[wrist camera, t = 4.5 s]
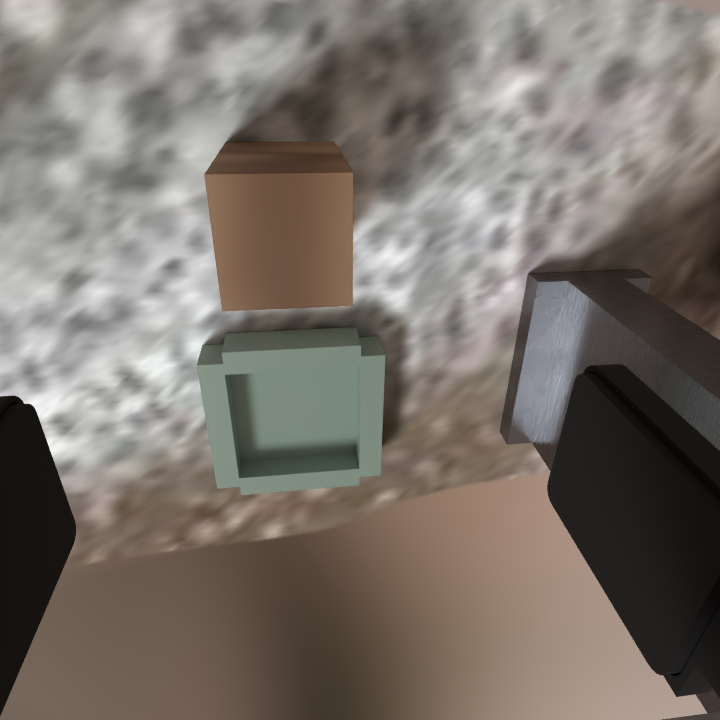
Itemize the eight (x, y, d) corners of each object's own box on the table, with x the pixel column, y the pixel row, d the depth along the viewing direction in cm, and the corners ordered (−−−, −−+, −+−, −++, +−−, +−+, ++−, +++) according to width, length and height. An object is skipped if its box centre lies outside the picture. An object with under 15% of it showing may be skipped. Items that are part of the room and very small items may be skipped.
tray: (222, 471, 30) (218, 496, 29) (200, 334, 26) (194, 354, 24) (374, 459, 31) (380, 483, 30) (379, 325, 27) (385, 344, 25)
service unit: (499, 431, 32) (692, 762, 17) (528, 273, 27) (838, 545, 12) (616, 423, 32) (897, 730, 18) (665, 268, 27) (1114, 515, 13)
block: (237, 247, 24) (222, 311, 18) (225, 142, 22) (204, 174, 16) (335, 244, 25) (352, 305, 19) (333, 141, 22) (353, 172, 16)
